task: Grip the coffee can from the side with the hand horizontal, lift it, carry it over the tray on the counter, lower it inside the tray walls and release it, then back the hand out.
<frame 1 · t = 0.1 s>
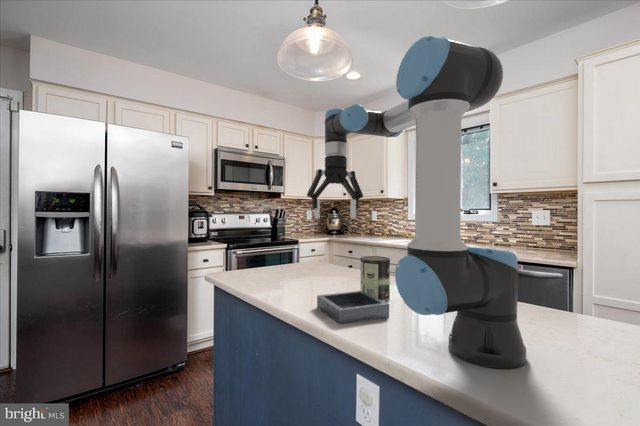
hand: (335, 218, 110), 28 cm above the counter, tool pointing down, fingers open, 13 cm apart
tray: (351, 312, 98), on the counter
coffee can: (374, 298, 112), on the counter
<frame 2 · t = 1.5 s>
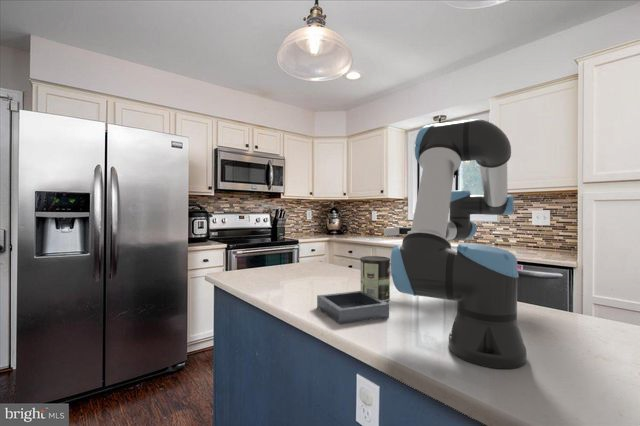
hand: (395, 233, 115), 22 cm above the counter, tool horizontal, fingers open, 13 cm apart
nothing on the counter moved.
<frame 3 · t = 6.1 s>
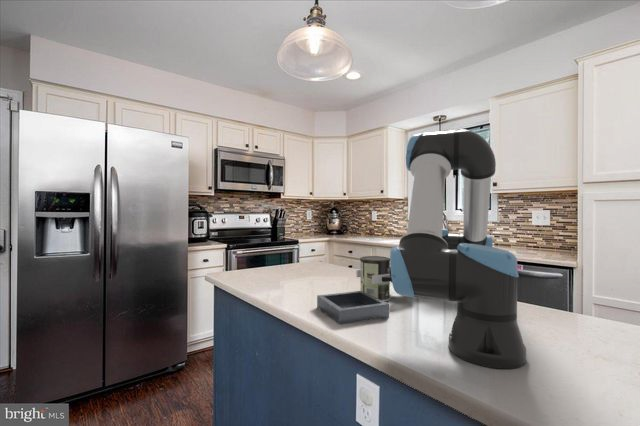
hand: (364, 276, 111), 8 cm above the counter, tool horizontal, fingers closed on coffee can, 10 cm apart
coffee can: (374, 298, 112), on the counter, touching gripper
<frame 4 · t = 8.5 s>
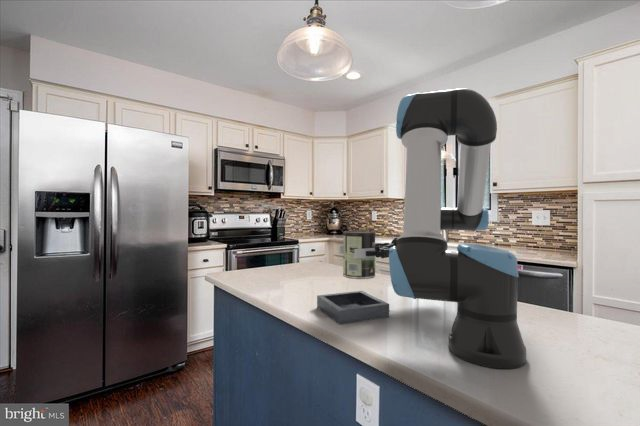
hand: (346, 251, 100), 18 cm above the counter, tool horizontal, fingers closed on coffee can, 10 cm apart
coffee can: (358, 276, 102), point 10 cm above the counter, touching gripper
when the fingers open (10 cm above the counter, at t = 11.0 s): coffee can drops 1 cm, resting on tray.
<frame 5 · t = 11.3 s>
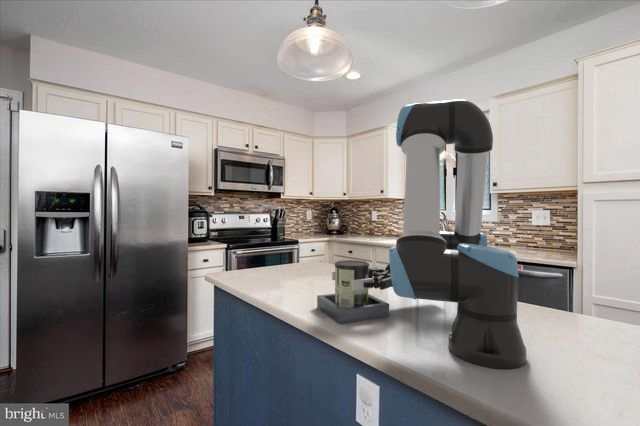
hand: (341, 280, 96), 10 cm above the counter, tool horizontal, fingers open, 13 cm apart
coffee can: (351, 309, 98), point 1 cm above the counter, touching tray
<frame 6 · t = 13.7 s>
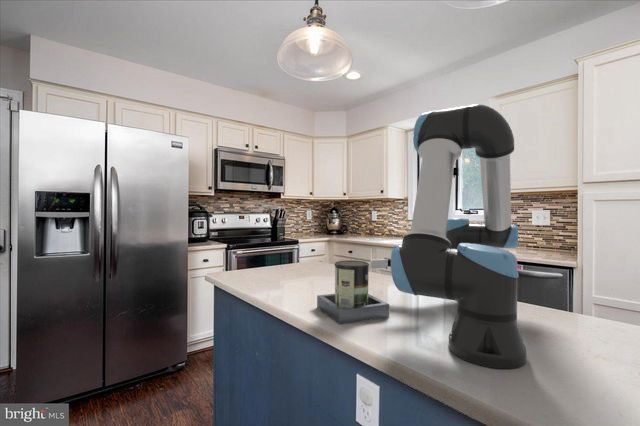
hand: (382, 267, 101), 13 cm above the counter, tool horizontal, fingers open, 13 cm apart
nothing on the counter moved.
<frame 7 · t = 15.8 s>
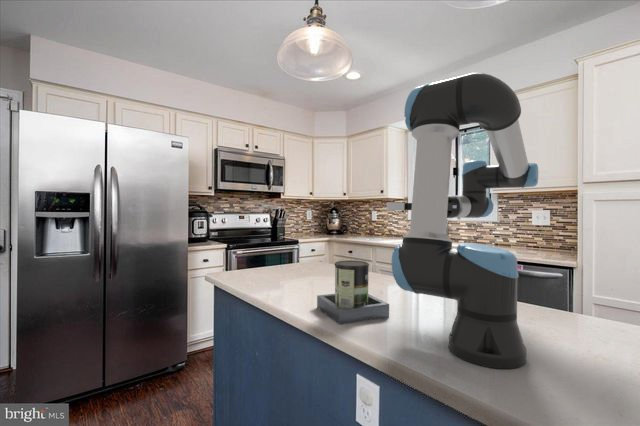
hand: (400, 206, 100), 32 cm above the counter, tool horizontal, fingers open, 13 cm apart
nothing on the counter moved.
at the end: coffee can inside the target area on the tray (0.2 cm from its centre), point 0.6 cm above the tray's base; coffee can tilted 0°; coffee can touching tray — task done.
